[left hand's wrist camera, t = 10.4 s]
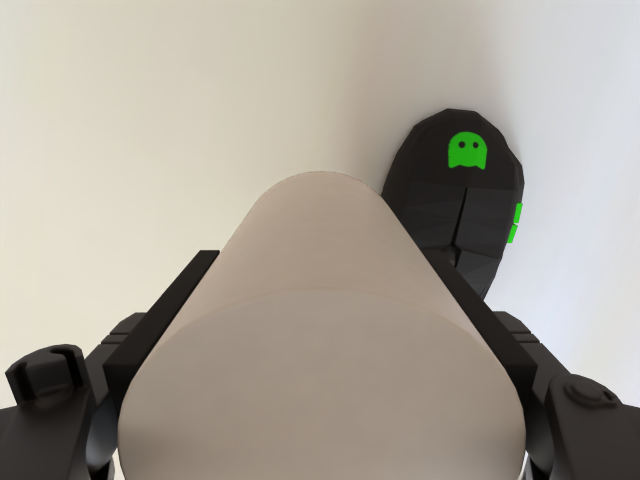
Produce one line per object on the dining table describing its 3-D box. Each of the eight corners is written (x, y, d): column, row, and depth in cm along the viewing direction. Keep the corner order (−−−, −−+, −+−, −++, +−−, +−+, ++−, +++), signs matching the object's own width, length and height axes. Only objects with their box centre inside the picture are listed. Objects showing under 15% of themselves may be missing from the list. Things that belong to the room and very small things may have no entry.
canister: (260, 150, 15) (136, 232, 5) (424, 197, 16) (613, 355, 6) (227, 298, 18) (101, 555, 8) (370, 333, 19) (432, 611, 8)
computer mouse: (546, 118, 26) (585, 118, 22) (490, 312, 31) (514, 339, 27) (393, 103, 25) (406, 101, 22) (364, 302, 31) (370, 328, 27)
